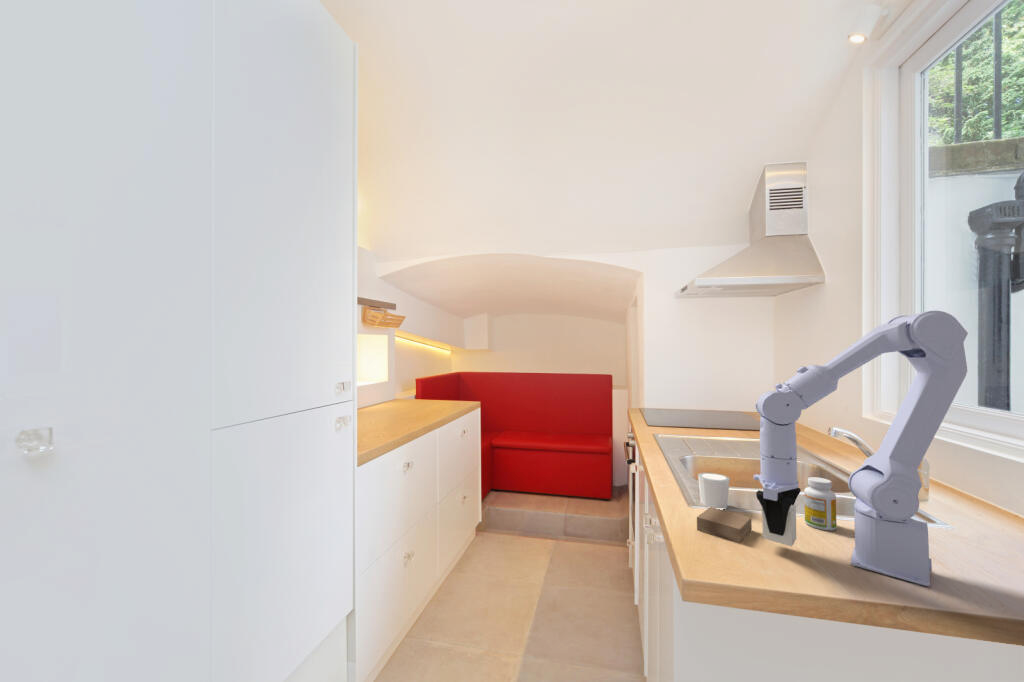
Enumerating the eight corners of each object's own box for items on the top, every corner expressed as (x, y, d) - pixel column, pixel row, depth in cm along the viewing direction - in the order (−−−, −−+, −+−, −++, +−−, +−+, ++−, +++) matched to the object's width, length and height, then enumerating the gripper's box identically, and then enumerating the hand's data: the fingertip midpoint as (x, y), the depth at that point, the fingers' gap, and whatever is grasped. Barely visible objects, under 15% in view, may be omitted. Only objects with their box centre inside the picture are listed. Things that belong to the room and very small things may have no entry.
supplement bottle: (825, 521, 88) (824, 476, 88) (843, 531, 82) (842, 484, 83) (799, 519, 88) (798, 475, 89) (815, 530, 83) (814, 483, 83)
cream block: (796, 538, 75) (795, 505, 75) (791, 546, 71) (791, 512, 72) (768, 530, 78) (767, 499, 78) (762, 538, 74) (762, 505, 75)
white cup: (732, 513, 92) (732, 482, 92) (699, 508, 94) (699, 478, 95) (727, 502, 98) (727, 474, 99) (697, 499, 101) (696, 470, 101)
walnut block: (751, 532, 83) (751, 517, 83) (739, 545, 77) (739, 529, 77) (710, 520, 88) (710, 507, 89) (696, 531, 83) (696, 517, 83)
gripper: (762, 446, 83) (763, 512, 83) (743, 458, 73) (744, 534, 72) (804, 451, 78) (805, 522, 78) (790, 466, 68) (791, 548, 67)
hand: (779, 529), depth 75 cm, fingers closed on cream block, 4 cm apart
